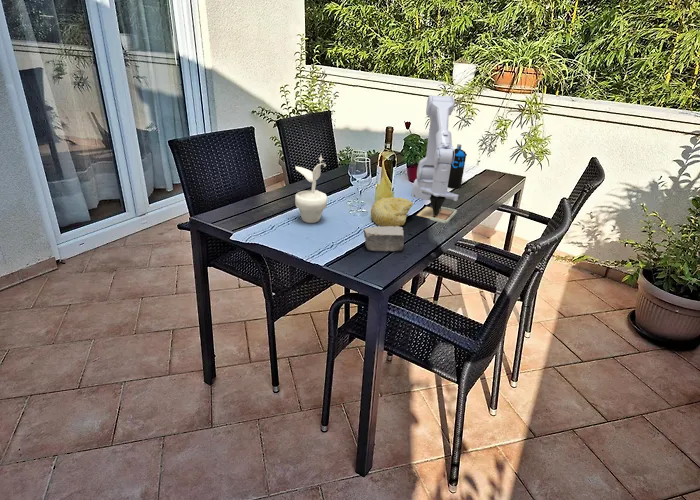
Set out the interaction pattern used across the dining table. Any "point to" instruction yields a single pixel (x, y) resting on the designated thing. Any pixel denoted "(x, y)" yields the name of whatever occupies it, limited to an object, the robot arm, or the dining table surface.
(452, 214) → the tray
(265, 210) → the dining table surface
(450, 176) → the aerosol can
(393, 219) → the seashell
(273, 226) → the dining table surface
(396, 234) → the decorative stone
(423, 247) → the dining table surface
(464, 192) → the dining table surface
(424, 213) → the board
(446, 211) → the tile
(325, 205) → the potted plant
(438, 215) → the tile
